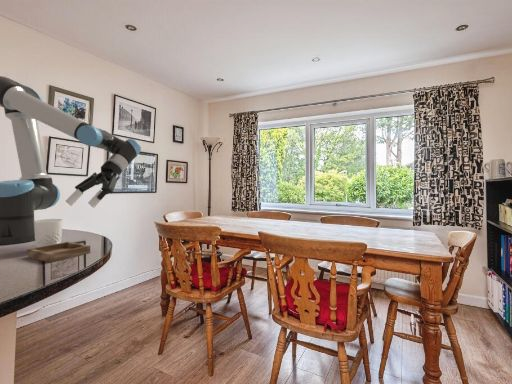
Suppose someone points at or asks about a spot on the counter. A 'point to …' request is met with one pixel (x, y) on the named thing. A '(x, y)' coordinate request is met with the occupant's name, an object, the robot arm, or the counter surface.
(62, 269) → the counter surface
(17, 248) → the counter surface
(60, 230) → the white cup
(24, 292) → the counter surface
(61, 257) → the walnut coaster tray
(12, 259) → the counter surface
